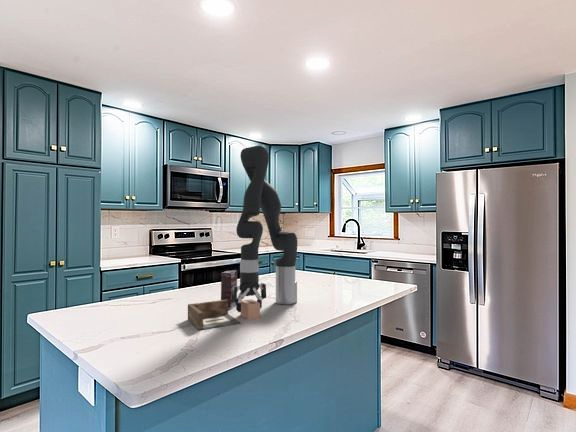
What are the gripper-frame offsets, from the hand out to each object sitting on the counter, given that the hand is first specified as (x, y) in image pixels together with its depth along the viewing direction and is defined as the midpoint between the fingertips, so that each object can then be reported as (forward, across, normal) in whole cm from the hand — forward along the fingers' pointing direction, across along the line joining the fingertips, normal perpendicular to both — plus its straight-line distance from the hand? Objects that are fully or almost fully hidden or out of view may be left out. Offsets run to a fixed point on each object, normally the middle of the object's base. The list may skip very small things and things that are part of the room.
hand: (249, 310), depth 144 cm
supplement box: (+3, +2, -18) cm, 18 cm away
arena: (+3, +15, 0) cm, 15 cm away
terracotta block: (+3, 0, 0) cm, 3 cm away
